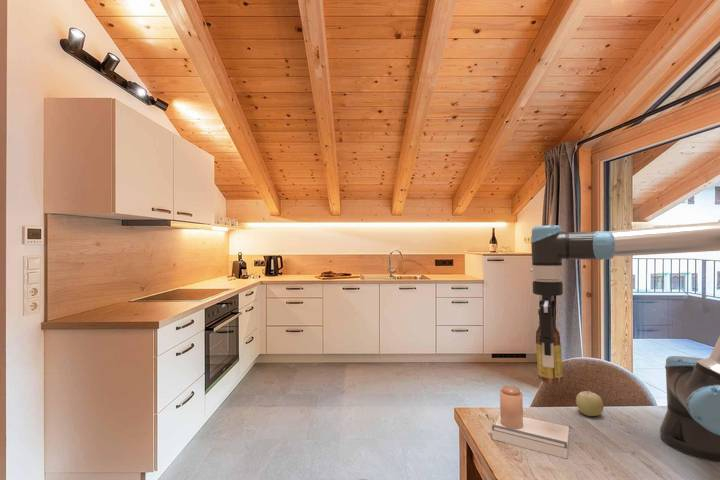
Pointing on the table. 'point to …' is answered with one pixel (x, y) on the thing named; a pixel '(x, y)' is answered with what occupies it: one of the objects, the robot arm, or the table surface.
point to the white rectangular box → (535, 436)
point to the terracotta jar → (511, 407)
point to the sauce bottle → (554, 373)
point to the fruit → (589, 403)
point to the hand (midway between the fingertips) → (549, 363)
